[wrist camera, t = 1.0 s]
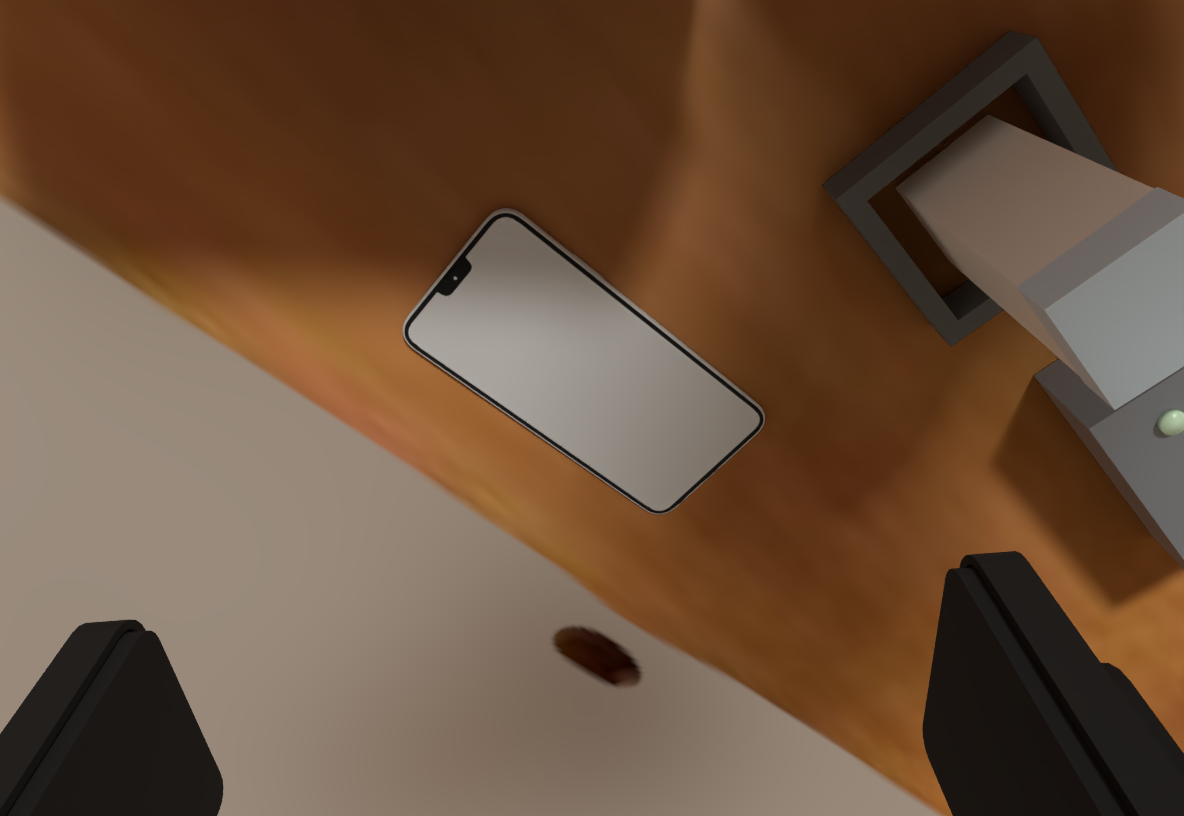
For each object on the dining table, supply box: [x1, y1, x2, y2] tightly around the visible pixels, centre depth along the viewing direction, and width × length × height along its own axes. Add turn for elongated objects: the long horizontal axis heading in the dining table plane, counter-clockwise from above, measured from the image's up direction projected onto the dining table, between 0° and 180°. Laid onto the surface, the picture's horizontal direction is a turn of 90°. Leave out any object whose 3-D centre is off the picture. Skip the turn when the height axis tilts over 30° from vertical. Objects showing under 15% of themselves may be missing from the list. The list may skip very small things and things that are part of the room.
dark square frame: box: [823, 31, 1117, 347], centre depth 32 cm, size 8×8×2 cm
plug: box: [895, 115, 1184, 410], centre depth 27 cm, size 4×4×12 cm
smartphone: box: [403, 208, 765, 514], centre depth 36 cm, size 7×1×15 cm
